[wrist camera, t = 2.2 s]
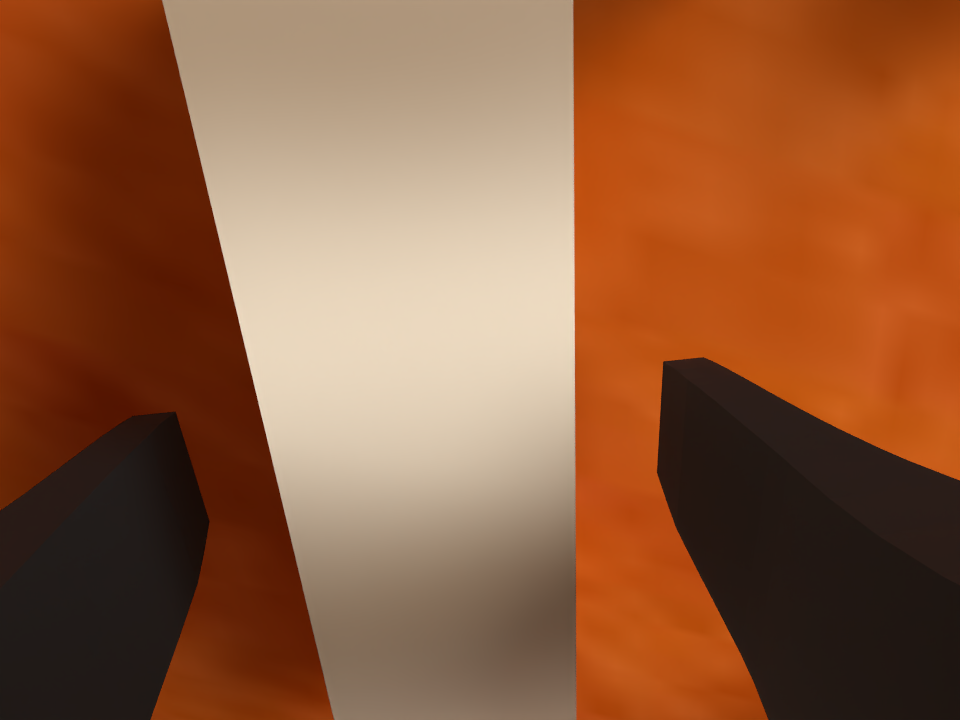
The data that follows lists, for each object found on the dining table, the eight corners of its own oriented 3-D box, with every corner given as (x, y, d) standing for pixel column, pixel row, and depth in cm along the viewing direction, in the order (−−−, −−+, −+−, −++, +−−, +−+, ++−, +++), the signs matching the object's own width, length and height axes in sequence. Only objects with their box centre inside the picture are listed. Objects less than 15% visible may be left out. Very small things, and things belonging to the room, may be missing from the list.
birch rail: (526, 628, 17) (578, 923, 12) (394, 643, 17) (387, 947, 12) (492, -82, 11) (575, -128, 5) (275, -67, 10) (134, -98, 5)
